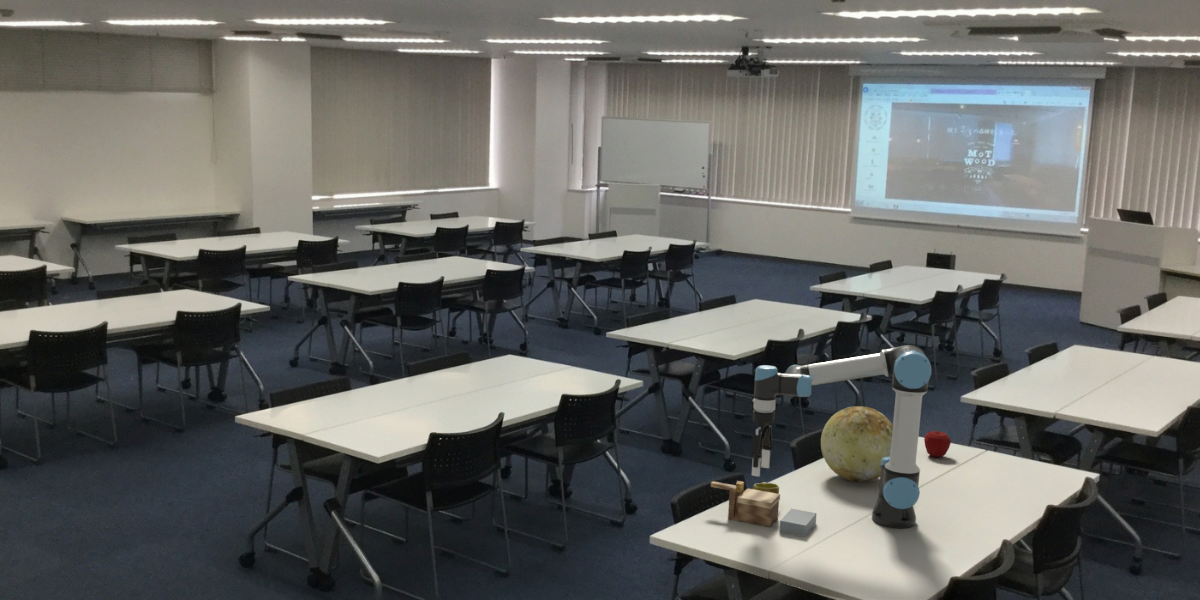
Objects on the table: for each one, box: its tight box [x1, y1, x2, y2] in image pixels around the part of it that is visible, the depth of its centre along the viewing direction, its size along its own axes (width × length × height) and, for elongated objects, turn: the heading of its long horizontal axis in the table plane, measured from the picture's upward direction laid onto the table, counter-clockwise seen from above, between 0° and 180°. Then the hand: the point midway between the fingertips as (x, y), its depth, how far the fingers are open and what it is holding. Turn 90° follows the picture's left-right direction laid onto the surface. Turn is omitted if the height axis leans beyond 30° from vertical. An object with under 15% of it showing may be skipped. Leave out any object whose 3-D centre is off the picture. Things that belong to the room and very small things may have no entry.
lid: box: [738, 488, 781, 509], centre depth 366 cm, size 12×11×3 cm
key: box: [710, 480, 745, 493], centre depth 370 cm, size 12×3×3 cm, turn 64°
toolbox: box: [727, 480, 780, 528], centre depth 367 cm, size 16×9×12 cm, turn 64°
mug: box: [752, 481, 780, 494], centre depth 382 cm, size 12×10×10 cm
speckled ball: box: [820, 405, 893, 483], centre depth 414 cm, size 30×30×30 cm
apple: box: [923, 430, 952, 458], centre depth 451 cm, size 11×11×12 cm
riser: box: [779, 508, 817, 538], centre depth 360 cm, size 9×14×4 cm, turn 154°
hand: (760, 471), depth 364 cm, fingers open, 10 cm apart
